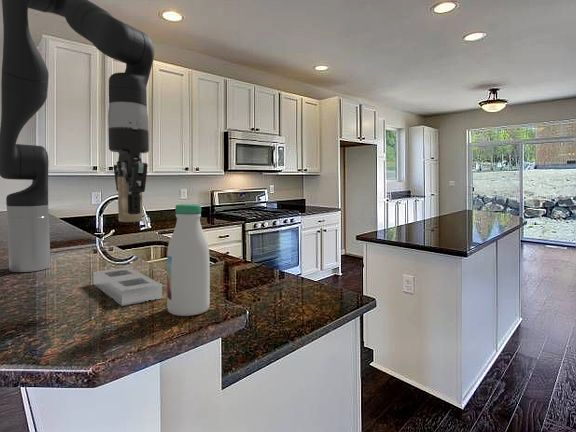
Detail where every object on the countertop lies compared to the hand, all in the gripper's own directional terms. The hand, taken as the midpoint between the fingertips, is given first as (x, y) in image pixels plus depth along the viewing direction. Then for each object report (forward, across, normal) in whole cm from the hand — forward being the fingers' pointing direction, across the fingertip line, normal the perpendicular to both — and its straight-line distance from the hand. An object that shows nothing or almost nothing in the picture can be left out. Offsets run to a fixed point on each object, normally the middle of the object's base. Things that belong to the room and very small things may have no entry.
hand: (130, 212), depth 77 cm
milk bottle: (+18, +15, +6) cm, 24 cm away
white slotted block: (+18, -5, 0) cm, 18 cm away
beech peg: (+2, 0, 0) cm, 2 cm away
